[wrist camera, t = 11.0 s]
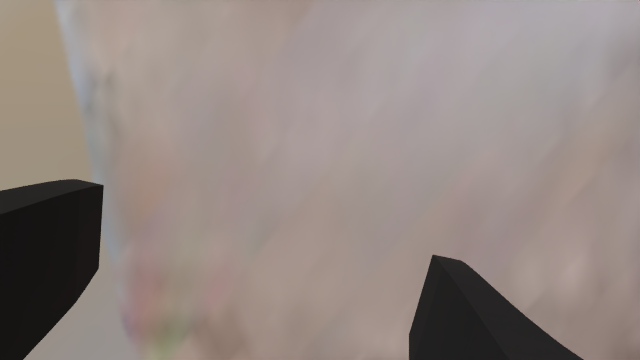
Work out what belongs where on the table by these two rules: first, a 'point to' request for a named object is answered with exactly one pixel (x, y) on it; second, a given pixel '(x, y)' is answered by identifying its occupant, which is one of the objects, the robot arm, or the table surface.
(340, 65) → the table surface
